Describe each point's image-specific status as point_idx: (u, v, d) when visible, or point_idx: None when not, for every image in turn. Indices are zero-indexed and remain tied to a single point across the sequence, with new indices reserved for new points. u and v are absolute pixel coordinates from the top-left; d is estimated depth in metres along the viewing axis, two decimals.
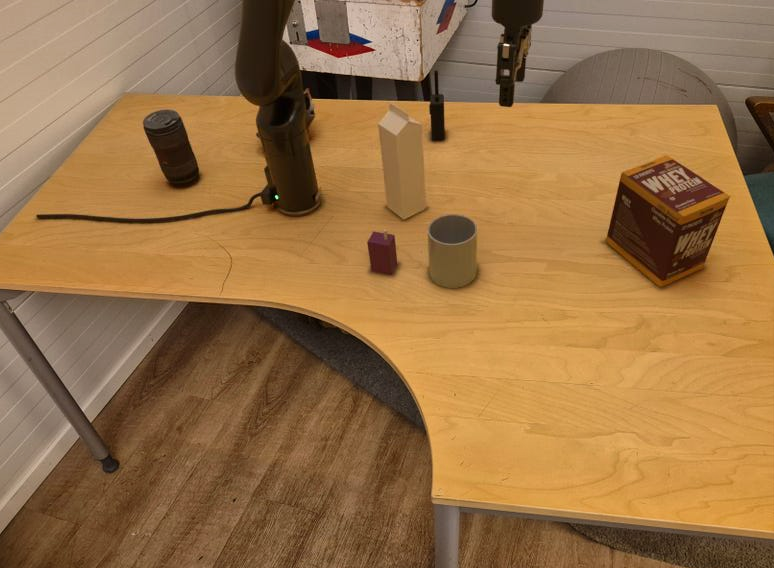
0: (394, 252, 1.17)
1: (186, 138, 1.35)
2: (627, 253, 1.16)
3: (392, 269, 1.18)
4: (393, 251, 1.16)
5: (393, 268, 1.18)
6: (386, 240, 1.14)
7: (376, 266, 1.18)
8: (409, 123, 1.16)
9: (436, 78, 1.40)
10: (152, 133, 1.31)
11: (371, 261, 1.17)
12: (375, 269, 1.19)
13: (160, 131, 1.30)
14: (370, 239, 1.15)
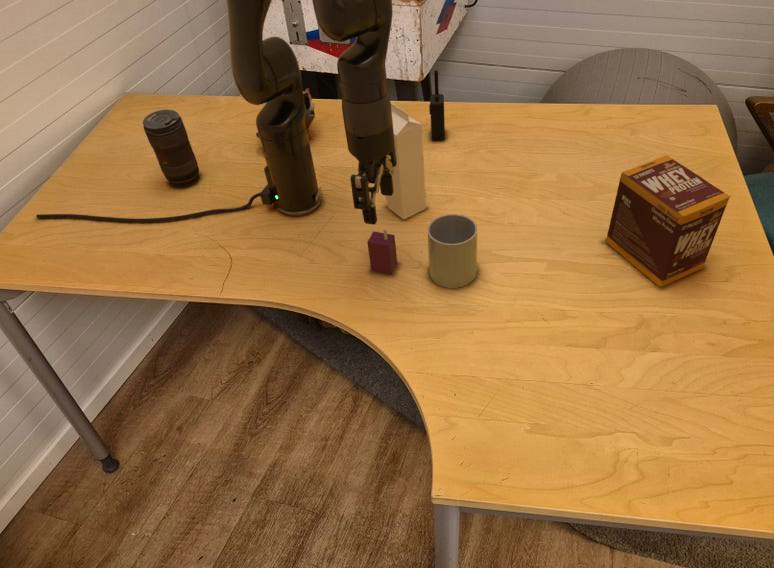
0: (394, 252, 1.17)
1: (186, 138, 1.35)
2: (627, 253, 1.16)
3: (392, 269, 1.18)
4: (393, 251, 1.16)
5: (393, 268, 1.18)
6: (386, 240, 1.14)
7: (376, 266, 1.18)
8: (409, 123, 1.16)
9: (436, 78, 1.40)
10: (152, 133, 1.31)
11: (371, 261, 1.17)
12: (375, 269, 1.19)
13: (160, 131, 1.30)
14: (370, 239, 1.15)
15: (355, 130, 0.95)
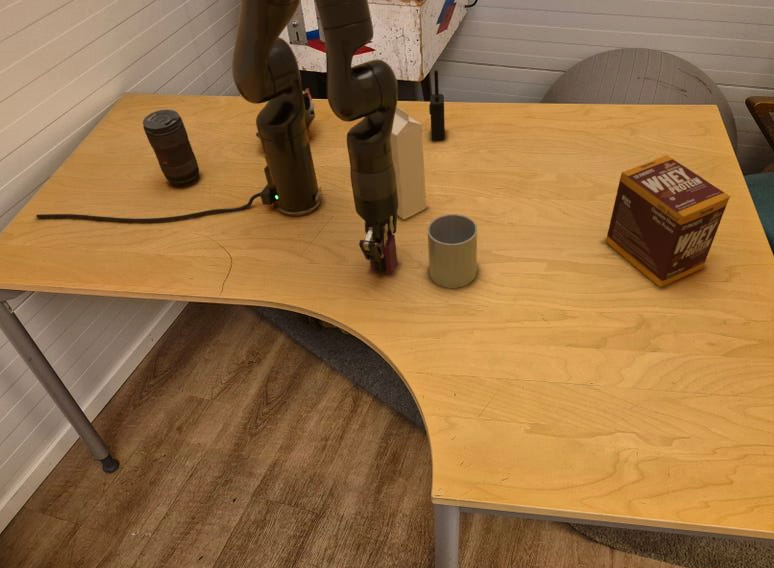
0: (394, 252, 1.17)
1: (186, 138, 1.35)
2: (627, 253, 1.16)
3: (392, 269, 1.18)
4: (393, 251, 1.16)
5: (393, 268, 1.18)
6: None
7: None
8: (409, 123, 1.16)
9: (436, 78, 1.40)
10: (152, 133, 1.31)
11: (371, 261, 1.17)
12: None
13: (160, 131, 1.30)
14: None
15: (362, 195, 1.04)
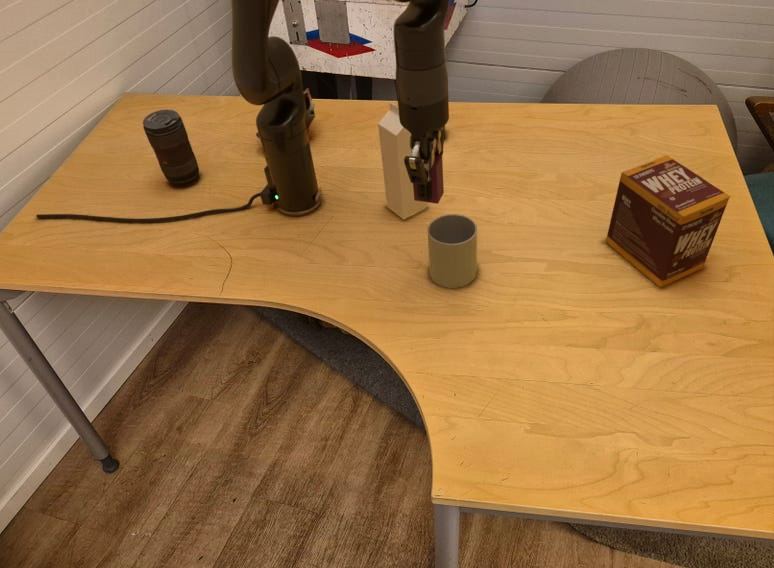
0: (441, 177, 1.03)
1: (186, 138, 1.35)
2: (627, 253, 1.16)
3: (438, 197, 1.04)
4: (440, 175, 1.02)
5: (439, 196, 1.04)
6: None
7: None
8: None
9: None
10: (152, 133, 1.31)
11: (415, 188, 1.03)
12: None
13: (160, 131, 1.30)
14: None
15: (410, 100, 0.90)
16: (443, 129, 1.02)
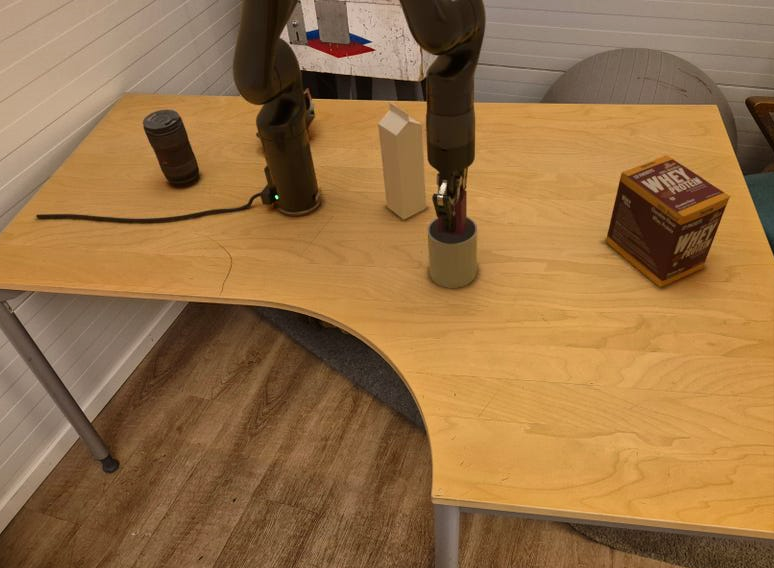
0: (465, 210, 1.07)
1: (186, 138, 1.35)
2: (627, 253, 1.16)
3: (462, 229, 1.08)
4: (464, 209, 1.07)
5: (463, 228, 1.09)
6: None
7: None
8: (409, 123, 1.16)
9: None
10: (152, 133, 1.31)
11: (440, 220, 1.08)
12: None
13: (160, 131, 1.30)
14: None
15: (439, 142, 0.94)
16: None
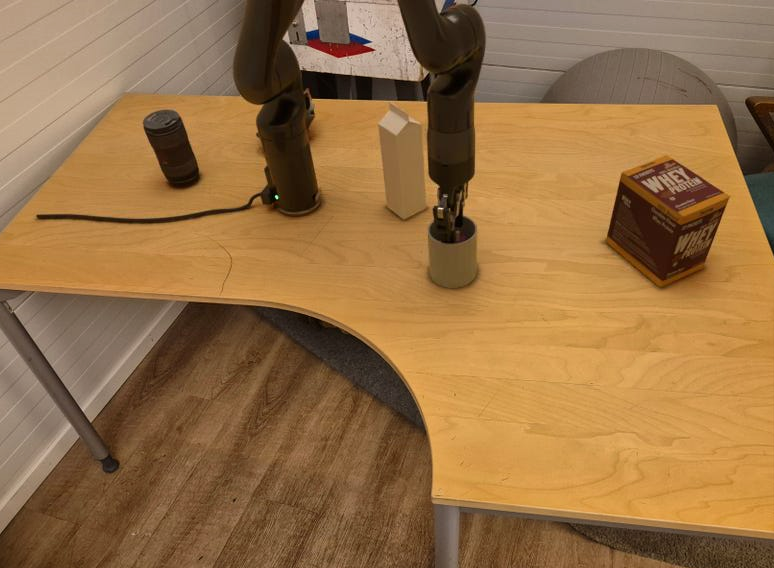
0: None
1: (186, 138, 1.35)
2: (627, 253, 1.16)
3: None
4: None
5: None
6: (458, 242, 1.12)
7: None
8: (409, 123, 1.16)
9: None
10: (152, 133, 1.31)
11: None
12: None
13: (160, 131, 1.30)
14: None
15: (440, 158, 0.96)
16: None
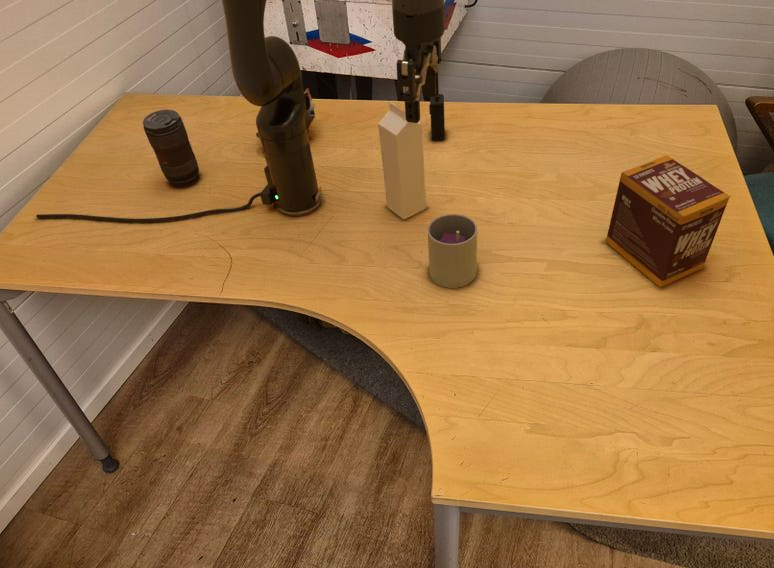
0: None
1: (186, 138, 1.35)
2: (627, 253, 1.16)
3: None
4: None
5: None
6: (458, 242, 1.12)
7: None
8: (409, 123, 1.16)
9: (436, 78, 1.40)
10: (152, 133, 1.31)
11: None
12: None
13: (160, 131, 1.30)
14: (442, 240, 1.12)
15: (405, 7, 0.88)
16: None
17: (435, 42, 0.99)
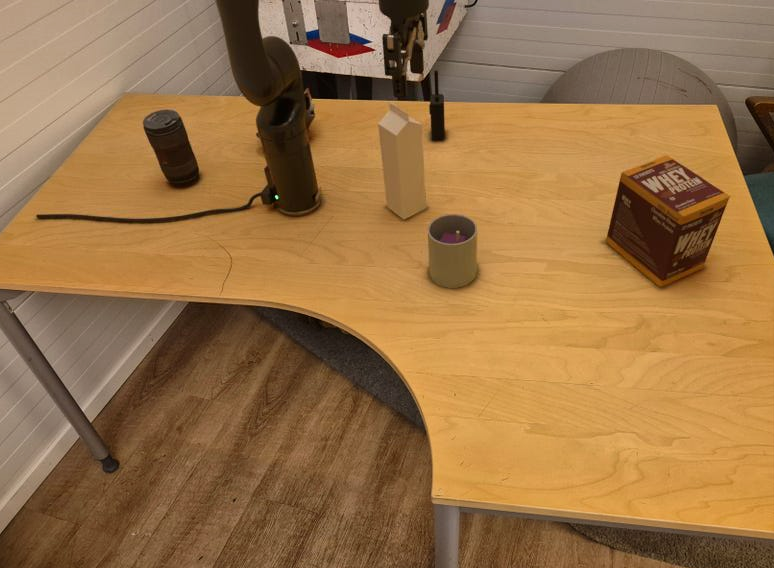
0: None
1: (186, 138, 1.35)
2: (627, 253, 1.16)
3: None
4: None
5: None
6: (458, 242, 1.12)
7: None
8: (409, 123, 1.16)
9: (436, 78, 1.40)
10: (152, 133, 1.31)
11: None
12: None
13: (160, 131, 1.30)
14: (442, 240, 1.12)
15: None
16: (425, 14, 1.01)
17: (421, 18, 1.01)
